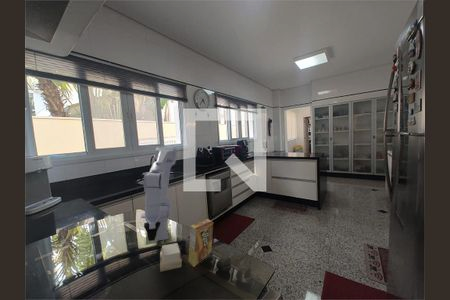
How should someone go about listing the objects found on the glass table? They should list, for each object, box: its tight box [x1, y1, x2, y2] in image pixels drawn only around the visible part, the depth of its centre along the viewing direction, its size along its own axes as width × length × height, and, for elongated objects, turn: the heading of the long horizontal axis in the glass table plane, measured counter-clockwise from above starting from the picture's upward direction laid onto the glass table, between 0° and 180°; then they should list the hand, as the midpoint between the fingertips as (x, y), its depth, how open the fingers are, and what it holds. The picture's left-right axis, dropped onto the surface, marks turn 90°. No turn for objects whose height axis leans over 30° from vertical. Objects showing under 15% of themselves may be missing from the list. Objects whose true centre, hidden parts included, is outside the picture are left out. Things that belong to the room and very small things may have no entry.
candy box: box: [188, 218, 214, 268], centre depth 69 cm, size 9×4×15 cm, turn 137°
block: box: [145, 230, 158, 246], centre depth 67 cm, size 4×4×4 cm
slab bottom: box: [159, 248, 183, 272], centre depth 67 cm, size 8×8×3 cm
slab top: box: [161, 242, 181, 263], centre depth 67 cm, size 6×6×3 cm
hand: (151, 236), depth 67 cm, fingers closed on block, 4 cm apart
